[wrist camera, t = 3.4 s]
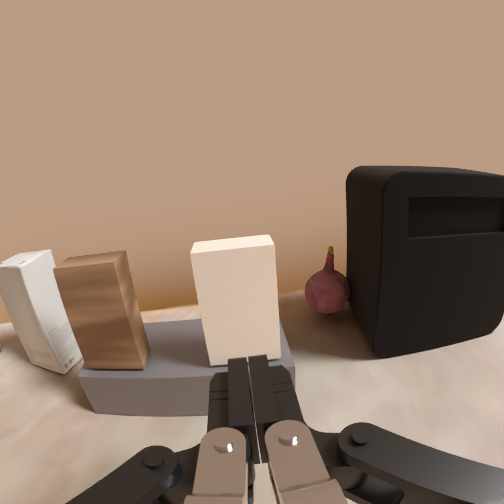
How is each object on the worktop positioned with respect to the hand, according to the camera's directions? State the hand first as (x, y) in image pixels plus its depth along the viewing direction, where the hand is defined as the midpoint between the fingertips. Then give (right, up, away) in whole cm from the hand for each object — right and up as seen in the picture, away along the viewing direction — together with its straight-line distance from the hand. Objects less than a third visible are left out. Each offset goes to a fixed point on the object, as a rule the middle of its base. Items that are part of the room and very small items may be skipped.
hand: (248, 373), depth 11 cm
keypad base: (-6, -9, +18) cm, 21 cm away
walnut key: (-12, -5, +14) cm, 19 cm away
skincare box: (-26, -10, +22) cm, 36 cm away
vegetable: (+11, -4, +29) cm, 31 cm away
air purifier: (+23, -5, +25) cm, 35 cm away
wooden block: (-1, -4, +15) cm, 15 cm away
